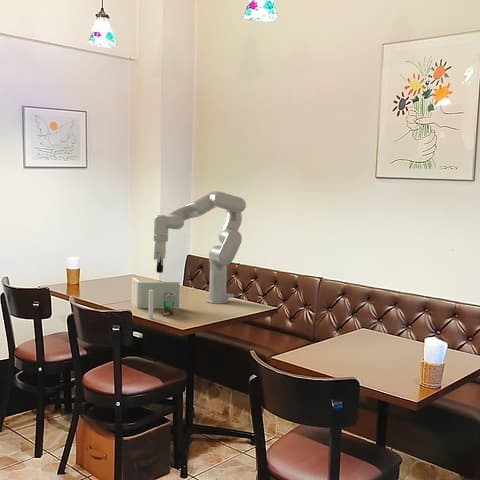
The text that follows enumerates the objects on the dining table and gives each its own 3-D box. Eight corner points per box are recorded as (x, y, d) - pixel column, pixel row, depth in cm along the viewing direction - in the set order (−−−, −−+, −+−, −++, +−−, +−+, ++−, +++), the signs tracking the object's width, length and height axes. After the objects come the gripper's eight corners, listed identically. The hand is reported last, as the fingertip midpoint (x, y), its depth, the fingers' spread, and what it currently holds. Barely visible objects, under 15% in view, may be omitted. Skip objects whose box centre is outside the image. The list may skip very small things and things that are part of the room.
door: (140, 306, 312) (141, 281, 311) (178, 306, 316) (179, 281, 314) (140, 307, 310) (141, 282, 308) (179, 307, 313) (179, 282, 311)
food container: (175, 316, 295) (175, 297, 294) (163, 316, 295) (163, 297, 294) (175, 311, 307) (176, 292, 306) (164, 310, 307) (164, 292, 306)
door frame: (134, 302, 323) (134, 277, 321) (153, 318, 290) (153, 290, 288) (131, 303, 322) (131, 277, 320) (149, 319, 289) (149, 290, 288)
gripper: (156, 236, 321) (155, 269, 323) (151, 239, 306) (150, 274, 308) (169, 237, 321) (168, 270, 323) (165, 240, 306) (164, 275, 308)
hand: (159, 272), depth 316 cm, fingers closed
